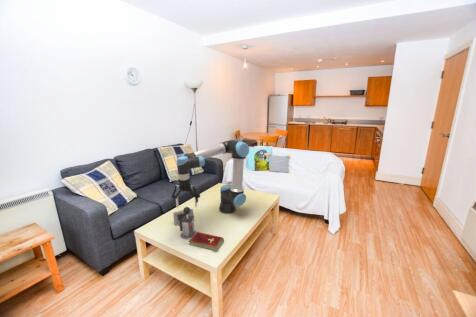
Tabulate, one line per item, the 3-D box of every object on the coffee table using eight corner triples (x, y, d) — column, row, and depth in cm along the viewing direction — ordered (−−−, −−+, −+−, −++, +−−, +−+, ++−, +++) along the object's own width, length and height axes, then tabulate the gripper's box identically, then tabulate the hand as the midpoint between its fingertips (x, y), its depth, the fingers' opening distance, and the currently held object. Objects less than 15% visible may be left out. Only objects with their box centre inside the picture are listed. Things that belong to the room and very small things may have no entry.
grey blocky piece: (195, 230, 166) (194, 215, 163) (192, 237, 158) (191, 221, 155) (182, 230, 167) (181, 215, 163) (179, 237, 159) (177, 221, 155)
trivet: (198, 230, 168) (198, 229, 168) (194, 240, 156) (194, 239, 156) (183, 230, 169) (183, 229, 168) (178, 239, 157) (178, 238, 157)
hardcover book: (197, 236, 162) (197, 231, 161) (223, 242, 155) (223, 236, 154) (188, 246, 151) (188, 240, 150) (216, 252, 144) (216, 247, 143)
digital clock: (173, 226, 173) (172, 214, 171) (174, 221, 182) (173, 209, 179) (194, 224, 176) (193, 212, 174) (194, 218, 185) (193, 207, 182)
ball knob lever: (192, 229, 164) (190, 205, 159) (190, 233, 159) (189, 209, 154) (186, 229, 164) (184, 205, 159) (184, 233, 159) (182, 208, 154)
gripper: (203, 176, 154) (205, 203, 160) (168, 176, 155) (171, 203, 161) (200, 180, 147) (203, 208, 152) (164, 180, 148) (168, 208, 154)
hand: (186, 206), depth 157 cm, fingers open, 13 cm apart
